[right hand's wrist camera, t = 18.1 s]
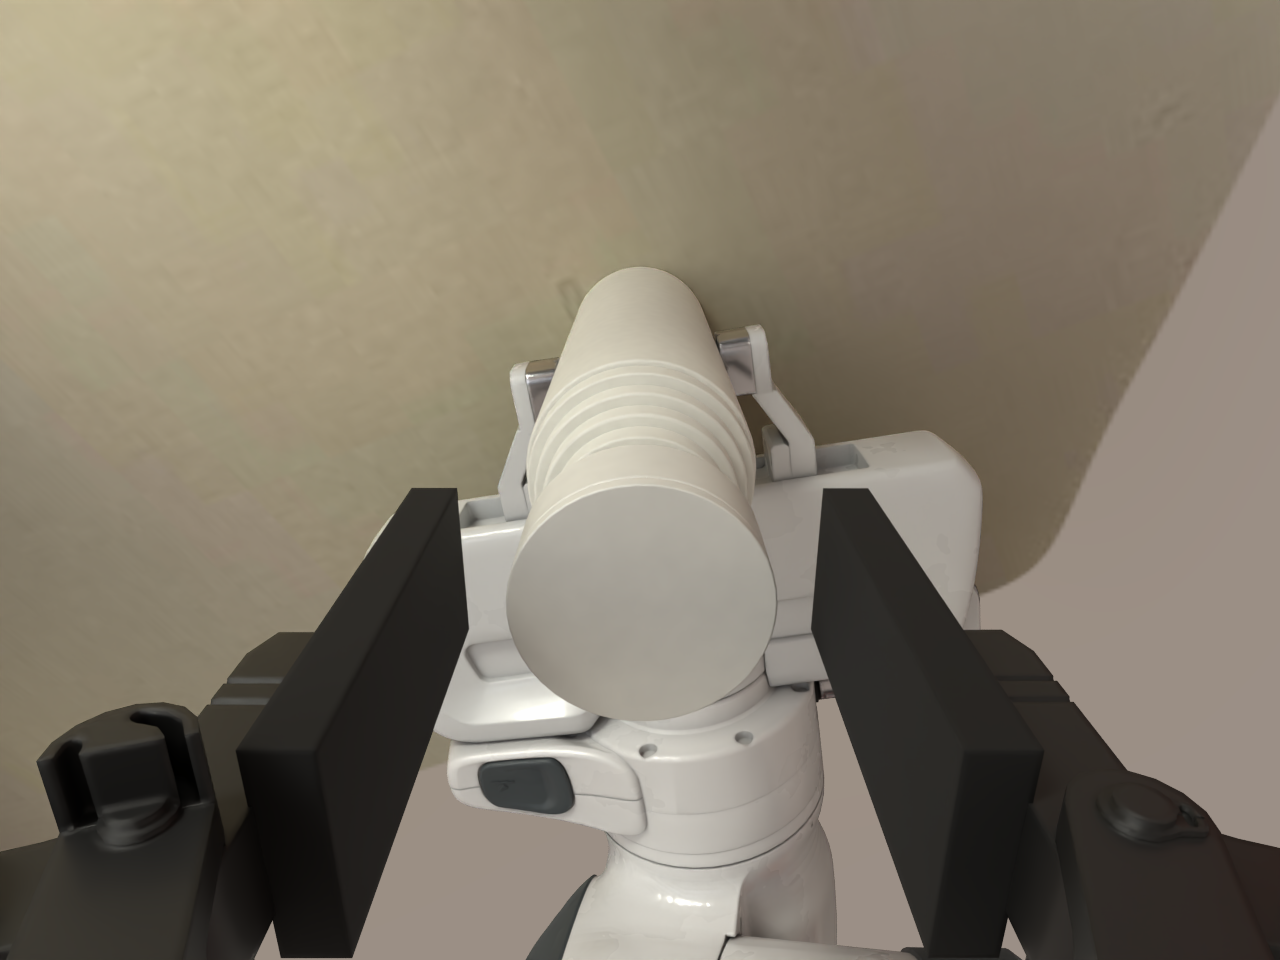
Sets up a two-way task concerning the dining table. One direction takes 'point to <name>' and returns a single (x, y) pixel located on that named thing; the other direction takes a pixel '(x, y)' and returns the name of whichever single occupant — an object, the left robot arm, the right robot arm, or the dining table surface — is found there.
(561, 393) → the bottle
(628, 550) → the cap
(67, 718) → the dining table surface
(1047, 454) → the dining table surface
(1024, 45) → the dining table surface
